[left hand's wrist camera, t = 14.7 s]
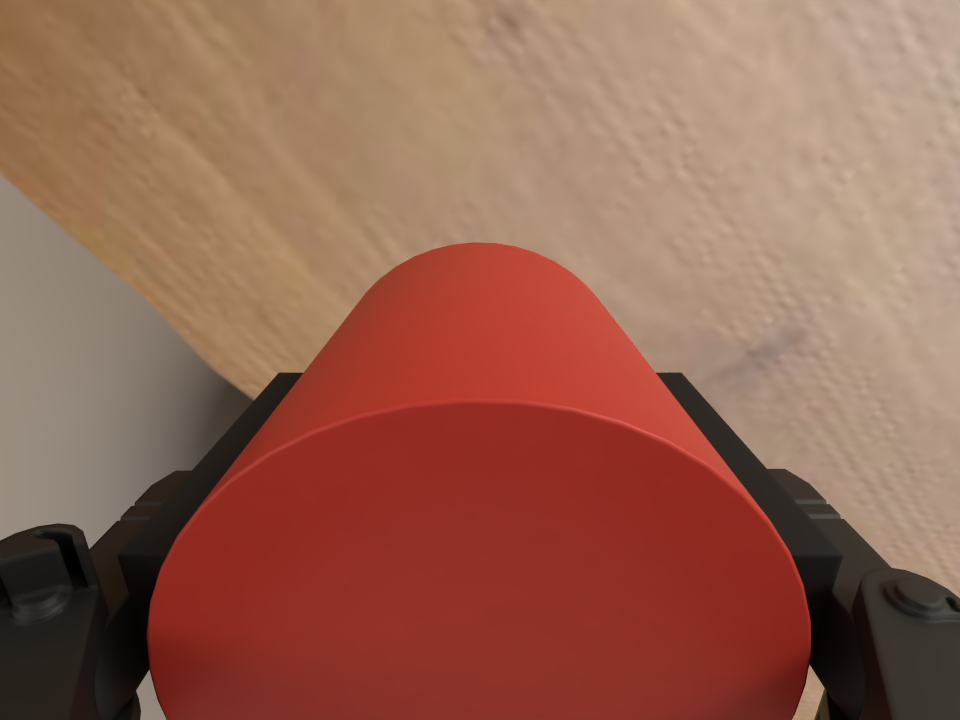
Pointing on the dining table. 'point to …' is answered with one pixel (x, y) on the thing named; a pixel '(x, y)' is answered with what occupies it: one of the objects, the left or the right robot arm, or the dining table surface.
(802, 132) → the dining table surface
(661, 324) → the dining table surface
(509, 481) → the canister
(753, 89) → the dining table surface
